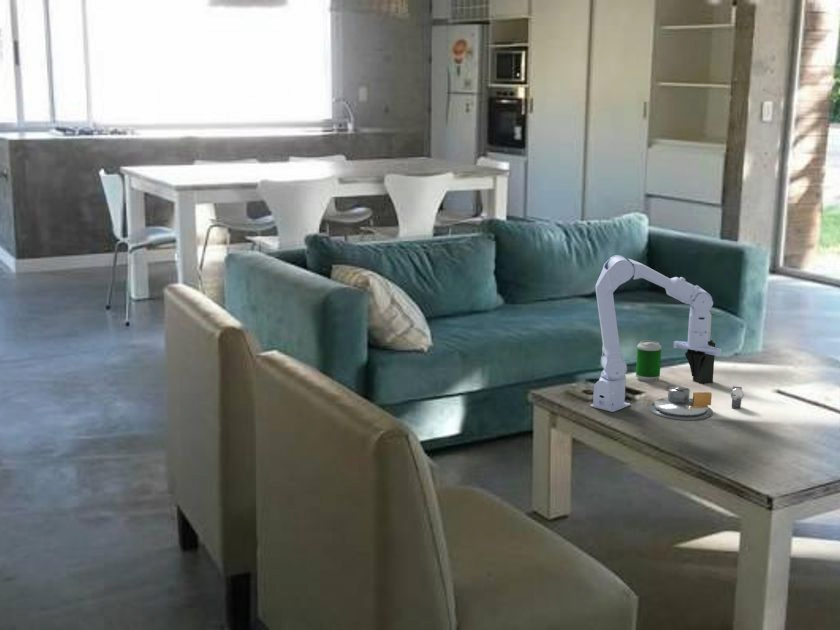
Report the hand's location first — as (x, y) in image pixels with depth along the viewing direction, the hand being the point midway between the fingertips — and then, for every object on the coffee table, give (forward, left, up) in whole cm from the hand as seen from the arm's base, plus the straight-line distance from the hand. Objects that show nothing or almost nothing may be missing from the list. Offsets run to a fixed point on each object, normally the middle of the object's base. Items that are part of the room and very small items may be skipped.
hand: (695, 375), depth 308 cm
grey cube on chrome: (+8, -10, -9) cm, 15 cm away
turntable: (-6, 0, -9) cm, 11 cm away
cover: (-4, +3, -7) cm, 9 cm away
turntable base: (-6, 0, -9) cm, 11 cm away
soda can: (+16, +25, -9) cm, 31 cm away
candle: (+26, +11, -9) cm, 30 cm away
